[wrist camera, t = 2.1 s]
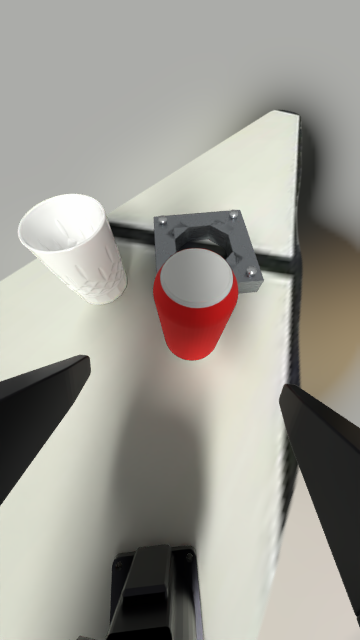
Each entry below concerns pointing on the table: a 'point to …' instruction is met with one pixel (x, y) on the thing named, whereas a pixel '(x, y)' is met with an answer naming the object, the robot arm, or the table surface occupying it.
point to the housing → (218, 229)
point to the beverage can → (194, 301)
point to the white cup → (76, 245)
